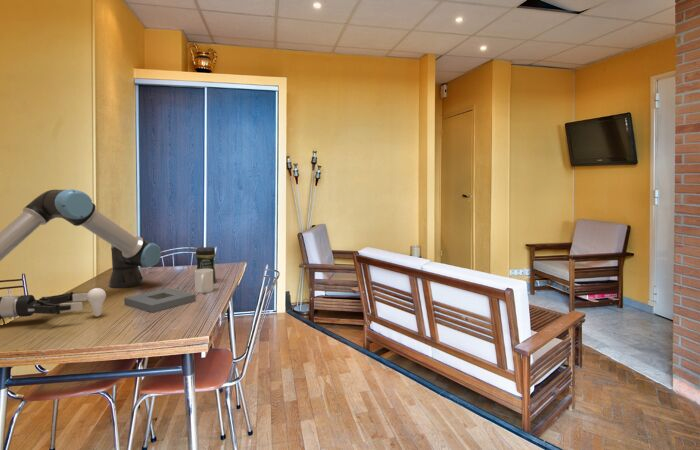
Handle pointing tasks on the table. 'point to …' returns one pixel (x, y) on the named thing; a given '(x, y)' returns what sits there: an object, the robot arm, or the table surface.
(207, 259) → the coffee jar
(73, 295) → the robot arm
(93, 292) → the lightbulb
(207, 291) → the cup
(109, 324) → the table surface
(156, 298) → the socket plate
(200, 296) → the table surface
